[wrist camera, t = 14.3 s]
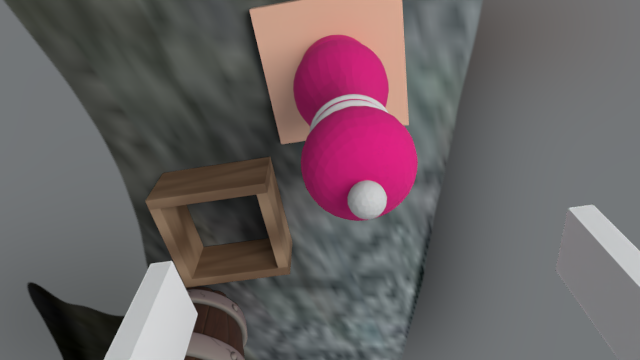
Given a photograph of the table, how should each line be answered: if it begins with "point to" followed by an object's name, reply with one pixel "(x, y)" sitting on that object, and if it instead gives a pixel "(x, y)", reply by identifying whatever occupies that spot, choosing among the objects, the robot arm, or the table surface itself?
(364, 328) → the table surface
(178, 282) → the robot arm
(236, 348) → the flowerpot
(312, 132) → the pepper mill
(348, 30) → the plate
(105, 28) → the table surface
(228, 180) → the wooden box
